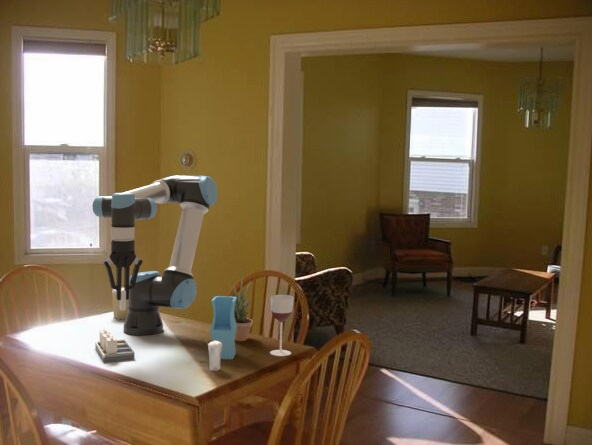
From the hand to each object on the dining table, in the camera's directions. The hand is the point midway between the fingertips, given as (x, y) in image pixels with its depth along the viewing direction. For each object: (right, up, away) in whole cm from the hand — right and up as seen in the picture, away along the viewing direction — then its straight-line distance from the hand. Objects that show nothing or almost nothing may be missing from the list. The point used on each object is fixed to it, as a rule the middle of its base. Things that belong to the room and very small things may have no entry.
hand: (122, 309), depth 208 cm
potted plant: (+37, -15, +28) cm, 49 cm away
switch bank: (-4, -16, +5) cm, 17 cm away
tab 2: (-6, -14, +3) cm, 16 cm away
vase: (+33, -17, +6) cm, 38 cm away
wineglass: (+53, -17, +12) cm, 57 cm away
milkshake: (+32, -18, -9) cm, 38 cm away
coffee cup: (-16, -11, +57) cm, 60 cm away
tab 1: (-8, -14, +8) cm, 18 cm away
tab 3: (-3, -14, -1) cm, 15 cm away
